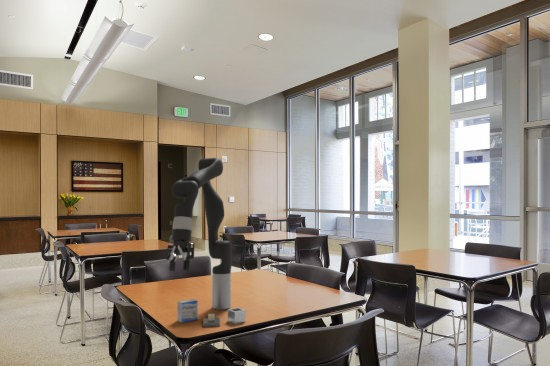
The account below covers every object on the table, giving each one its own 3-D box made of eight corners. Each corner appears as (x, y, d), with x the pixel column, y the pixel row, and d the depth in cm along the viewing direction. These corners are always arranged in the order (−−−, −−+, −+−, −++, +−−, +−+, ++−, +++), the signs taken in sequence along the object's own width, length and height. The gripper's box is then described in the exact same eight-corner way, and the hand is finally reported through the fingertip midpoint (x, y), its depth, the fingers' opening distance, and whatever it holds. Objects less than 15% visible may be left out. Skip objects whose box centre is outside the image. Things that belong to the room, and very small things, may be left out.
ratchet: (203, 316, 179) (203, 307, 179) (219, 315, 180) (219, 307, 180) (203, 327, 164) (203, 317, 164) (219, 326, 165) (219, 316, 166)
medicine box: (181, 323, 170) (181, 303, 170) (177, 320, 173) (177, 301, 174) (197, 320, 174) (197, 300, 175) (193, 317, 178) (193, 298, 178)
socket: (227, 321, 172) (227, 309, 173) (238, 318, 176) (238, 307, 176) (234, 324, 168) (234, 312, 168) (245, 321, 172) (245, 310, 172)
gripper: (201, 229, 154) (198, 271, 149) (178, 232, 162) (175, 271, 158) (185, 226, 148) (182, 269, 144) (163, 229, 157) (159, 270, 152)
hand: (178, 270), depth 151 cm, fingers open, 8 cm apart
